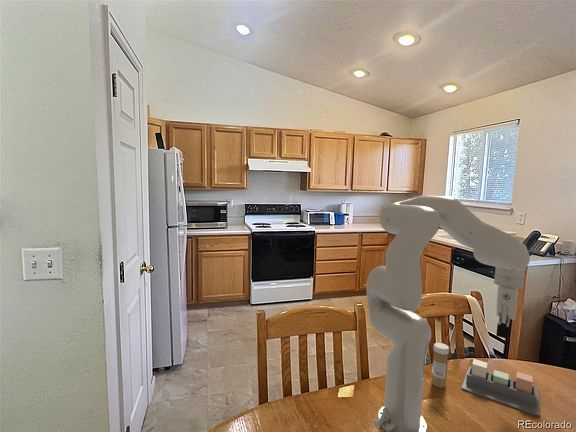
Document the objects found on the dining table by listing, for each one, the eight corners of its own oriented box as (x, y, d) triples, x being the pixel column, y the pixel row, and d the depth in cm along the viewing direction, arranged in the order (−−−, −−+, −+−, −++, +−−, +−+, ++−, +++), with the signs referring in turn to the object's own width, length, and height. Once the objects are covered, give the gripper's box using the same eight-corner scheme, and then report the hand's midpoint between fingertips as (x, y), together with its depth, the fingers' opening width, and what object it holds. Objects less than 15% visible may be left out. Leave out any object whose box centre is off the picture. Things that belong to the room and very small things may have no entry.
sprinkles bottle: (448, 384, 106) (451, 345, 105) (443, 390, 103) (446, 350, 102) (434, 378, 109) (437, 340, 108) (428, 383, 106) (431, 345, 105)
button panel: (539, 416, 92) (540, 405, 92) (461, 389, 104) (462, 378, 104) (537, 392, 103) (538, 381, 103) (467, 370, 115) (468, 360, 115)
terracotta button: (531, 396, 97) (532, 382, 97) (515, 391, 99) (516, 377, 99) (531, 389, 100) (532, 376, 100) (515, 384, 103) (516, 371, 102)
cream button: (485, 381, 104) (486, 368, 104) (471, 376, 106) (472, 363, 106) (486, 375, 107) (487, 362, 107) (472, 371, 110) (473, 358, 109)
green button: (507, 393, 101) (508, 379, 100) (492, 388, 103) (493, 375, 103) (507, 387, 104) (508, 374, 103) (493, 382, 106) (494, 369, 106)
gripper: (522, 288, 93) (515, 349, 95) (523, 278, 105) (517, 332, 106) (492, 283, 97) (486, 340, 99) (496, 274, 109) (490, 326, 111)
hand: (502, 336), depth 103 cm, fingers closed
